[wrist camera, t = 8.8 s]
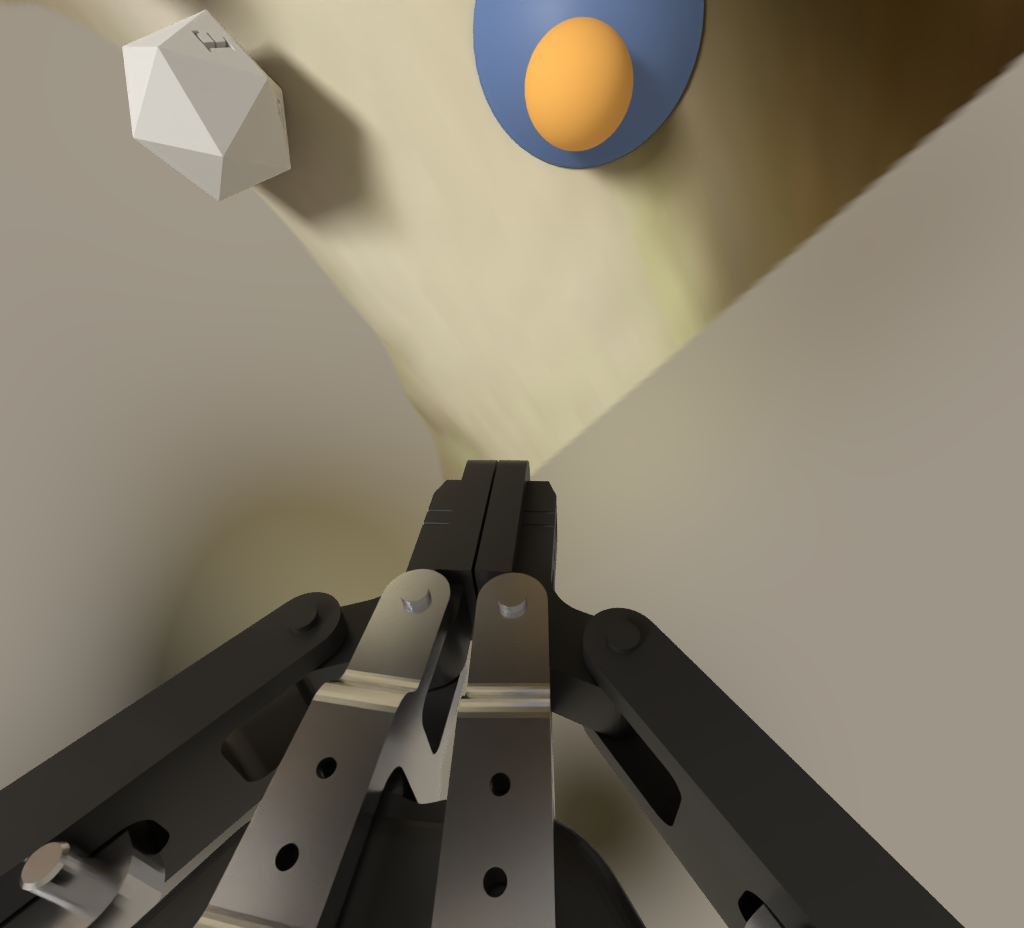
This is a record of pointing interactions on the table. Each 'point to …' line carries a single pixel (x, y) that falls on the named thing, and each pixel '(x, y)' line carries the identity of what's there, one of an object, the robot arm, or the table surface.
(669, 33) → the blue plate
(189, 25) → the die
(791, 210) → the table surface
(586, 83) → the ball
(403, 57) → the table surface
